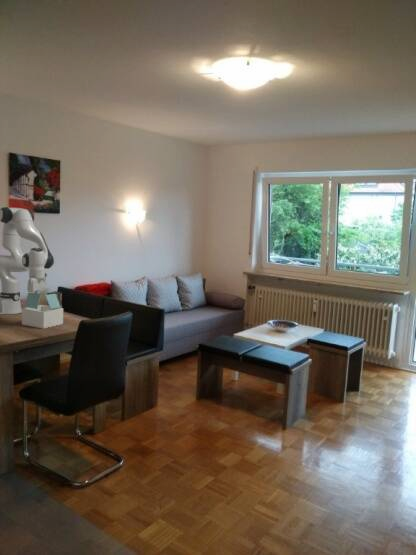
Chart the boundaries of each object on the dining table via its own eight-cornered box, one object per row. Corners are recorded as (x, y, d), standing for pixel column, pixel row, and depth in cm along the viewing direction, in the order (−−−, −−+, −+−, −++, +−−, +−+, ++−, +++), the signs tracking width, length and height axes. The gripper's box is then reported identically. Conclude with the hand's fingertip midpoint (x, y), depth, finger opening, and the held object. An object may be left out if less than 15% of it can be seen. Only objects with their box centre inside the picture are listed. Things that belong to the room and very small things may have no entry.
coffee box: (53, 314, 305) (54, 291, 303) (62, 315, 304) (62, 292, 302) (46, 316, 296) (46, 293, 294) (55, 317, 295) (55, 293, 293)
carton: (20, 324, 272) (20, 308, 271) (41, 319, 287) (41, 304, 286) (43, 328, 264) (43, 312, 263) (63, 323, 279) (64, 308, 278)
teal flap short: (50, 308, 269) (44, 295, 270) (59, 307, 276) (54, 293, 277) (50, 308, 268) (45, 295, 269) (60, 306, 276) (55, 293, 277)
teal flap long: (24, 306, 270) (28, 292, 272) (25, 306, 270) (29, 292, 272) (36, 308, 266) (40, 294, 267) (37, 309, 266) (41, 294, 268)
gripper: (35, 277, 259) (35, 300, 260) (47, 273, 279) (47, 295, 280) (24, 276, 258) (24, 299, 260) (37, 273, 279) (37, 294, 280)
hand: (36, 297), depth 270 cm, fingers closed, pressing on teal flap long
